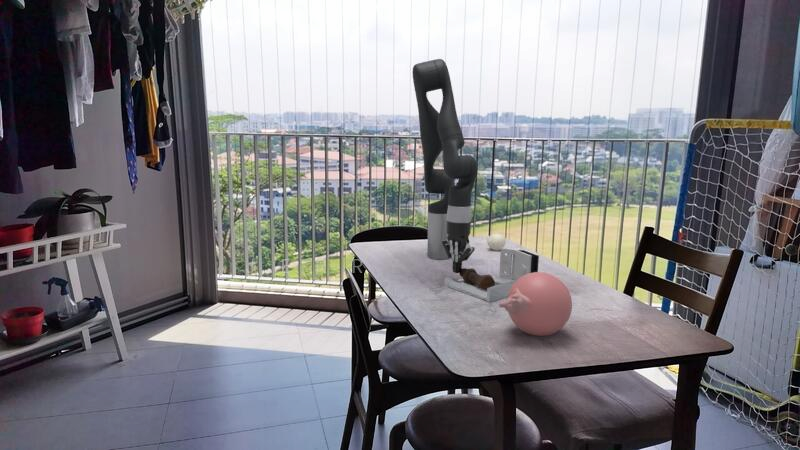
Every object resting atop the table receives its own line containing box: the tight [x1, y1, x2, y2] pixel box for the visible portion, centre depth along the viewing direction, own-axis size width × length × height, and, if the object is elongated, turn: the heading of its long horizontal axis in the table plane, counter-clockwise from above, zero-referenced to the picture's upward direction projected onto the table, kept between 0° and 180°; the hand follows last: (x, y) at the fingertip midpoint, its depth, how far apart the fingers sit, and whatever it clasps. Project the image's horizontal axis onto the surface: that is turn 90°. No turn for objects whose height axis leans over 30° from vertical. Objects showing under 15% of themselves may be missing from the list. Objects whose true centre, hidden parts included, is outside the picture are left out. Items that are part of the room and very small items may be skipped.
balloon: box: [498, 271, 573, 337], centre depth 129 cm, size 15×20×15 cm
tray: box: [443, 276, 516, 303], centre depth 163 cm, size 11×19×4 cm, turn 38°
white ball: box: [486, 232, 506, 251], centre depth 212 cm, size 7×7×7 cm
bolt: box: [458, 267, 495, 291], centre depth 165 cm, size 6×5×15 cm
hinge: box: [498, 247, 540, 282], centre depth 172 cm, size 14×5×10 cm, turn 37°
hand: (456, 272), depth 170 cm, fingers closed
